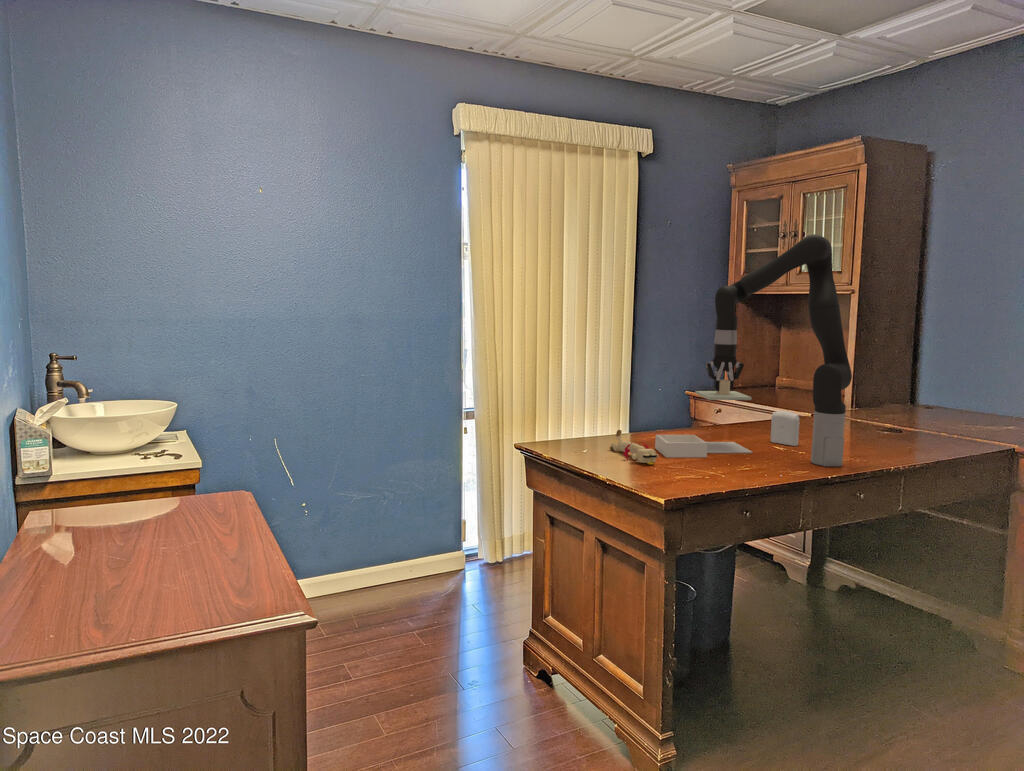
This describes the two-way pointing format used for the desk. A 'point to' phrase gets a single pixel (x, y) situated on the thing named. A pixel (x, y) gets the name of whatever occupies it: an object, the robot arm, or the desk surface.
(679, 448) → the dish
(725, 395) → the lid
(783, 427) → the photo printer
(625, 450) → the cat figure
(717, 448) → the mat
